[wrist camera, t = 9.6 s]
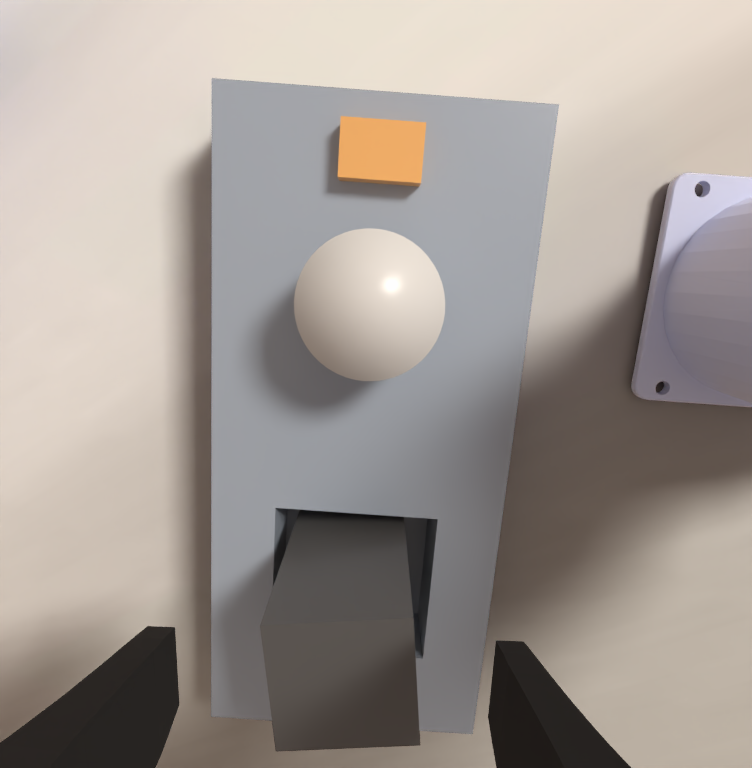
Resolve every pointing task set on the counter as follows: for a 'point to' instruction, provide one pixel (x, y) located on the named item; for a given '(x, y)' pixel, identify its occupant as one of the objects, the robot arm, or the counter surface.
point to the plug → (342, 636)
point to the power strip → (367, 419)
